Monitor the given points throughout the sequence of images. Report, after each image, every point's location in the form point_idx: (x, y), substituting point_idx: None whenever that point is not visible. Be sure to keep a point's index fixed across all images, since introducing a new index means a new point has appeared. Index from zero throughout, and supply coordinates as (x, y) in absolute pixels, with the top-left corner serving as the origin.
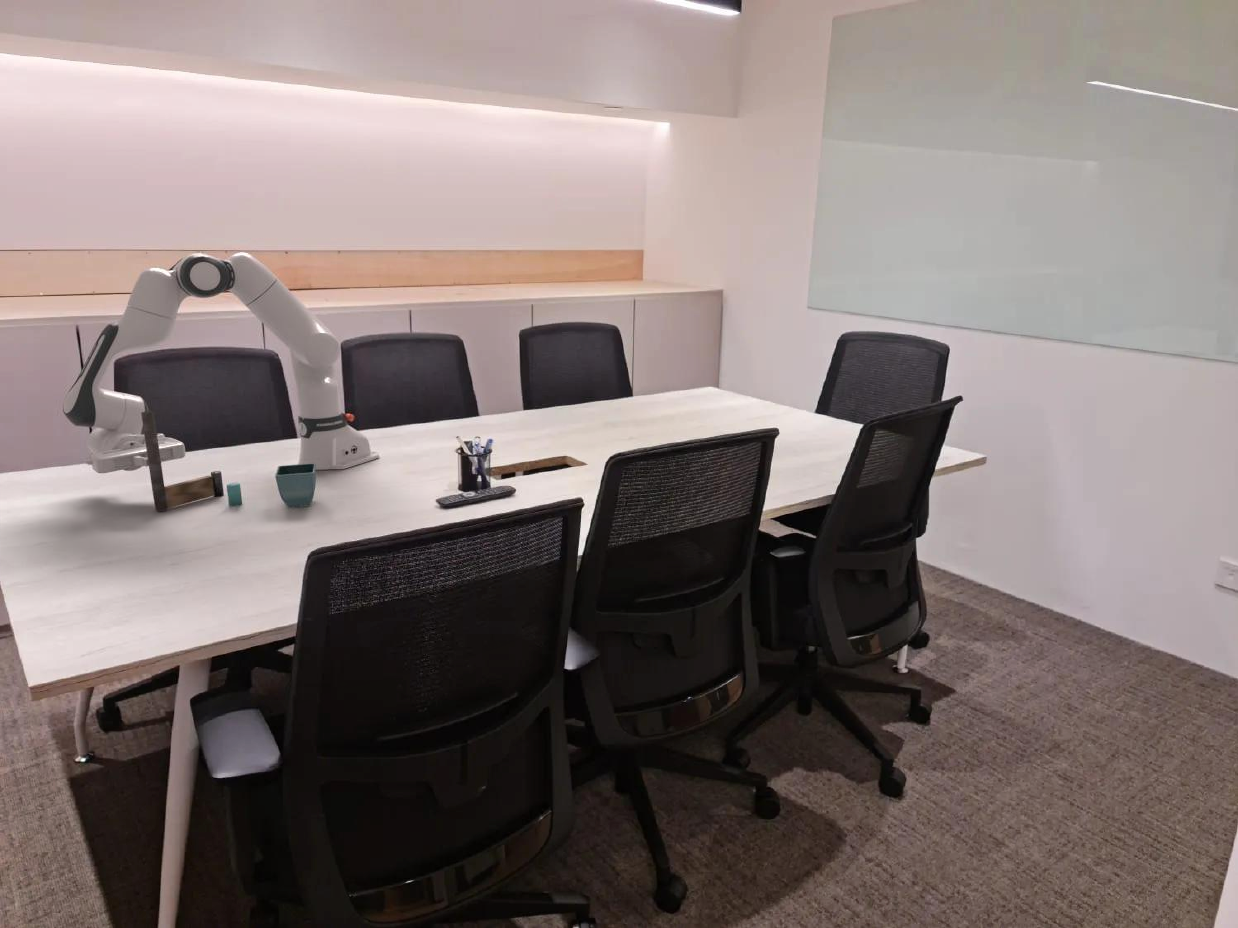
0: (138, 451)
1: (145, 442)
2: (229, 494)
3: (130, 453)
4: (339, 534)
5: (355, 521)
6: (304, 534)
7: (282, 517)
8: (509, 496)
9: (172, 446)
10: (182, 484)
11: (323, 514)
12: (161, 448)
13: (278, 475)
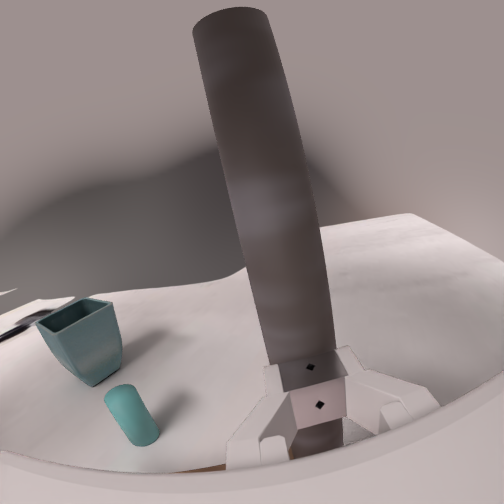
0: (394, 444)
1: (316, 212)
2: (146, 408)
3: (467, 397)
4: (173, 293)
5: (134, 310)
6: (192, 300)
7: (160, 343)
8: (41, 310)
9: (52, 463)
10: (211, 468)
11: (126, 333)
12: (137, 474)
13: (110, 302)
